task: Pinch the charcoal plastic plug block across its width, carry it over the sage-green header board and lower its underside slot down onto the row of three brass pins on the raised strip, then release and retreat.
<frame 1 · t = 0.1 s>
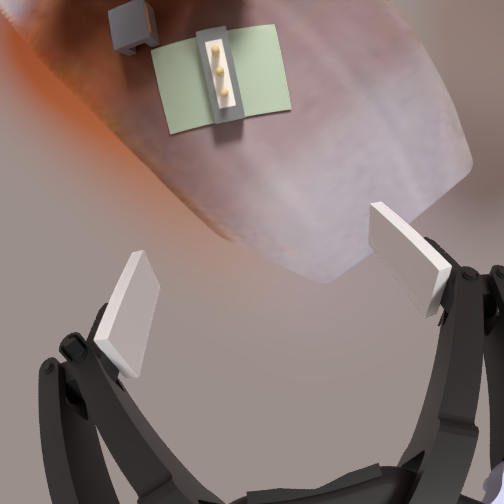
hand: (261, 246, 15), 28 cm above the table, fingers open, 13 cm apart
plug block: (140, 31, 27), on the table
header: (220, 75, 32), on the table
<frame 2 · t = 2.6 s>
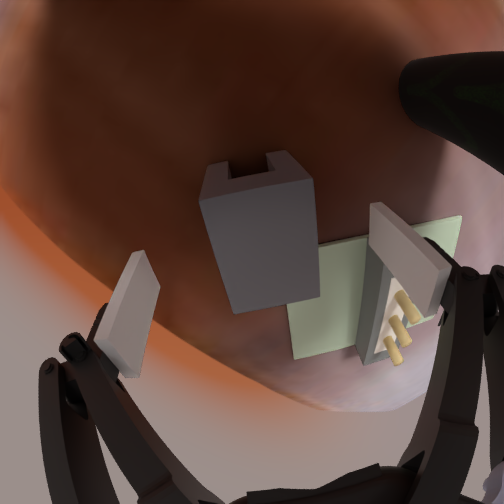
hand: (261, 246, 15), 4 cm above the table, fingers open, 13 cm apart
cup: (425, 93, 14), on the table
plug block: (256, 206, 18), on the table
header: (378, 293, 24), on the table
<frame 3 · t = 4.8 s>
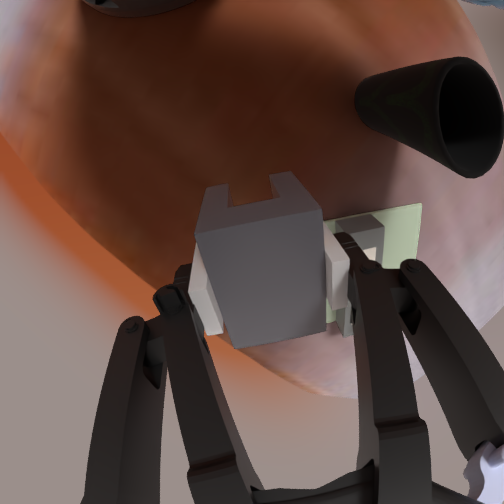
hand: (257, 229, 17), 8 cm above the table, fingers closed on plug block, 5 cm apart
cup: (379, 103, 20), on the table
plug block: (258, 231, 17), point 8 cm above the table, touching gripper
header: (351, 271, 29), on the table
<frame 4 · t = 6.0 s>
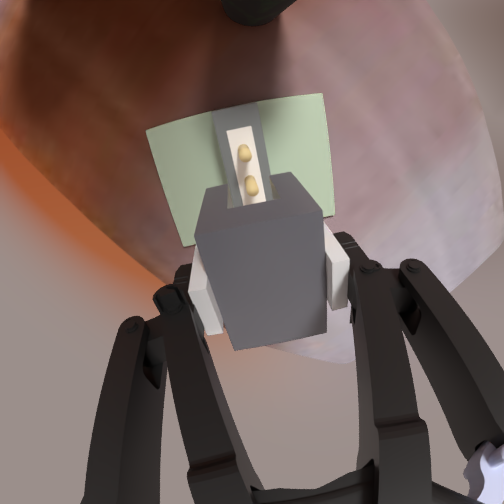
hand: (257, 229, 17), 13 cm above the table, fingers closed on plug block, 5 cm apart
cup: (251, 4, 18), on the table
plug block: (258, 232, 17), point 13 cm above the table, touching gripper
header: (247, 170, 27), on the table
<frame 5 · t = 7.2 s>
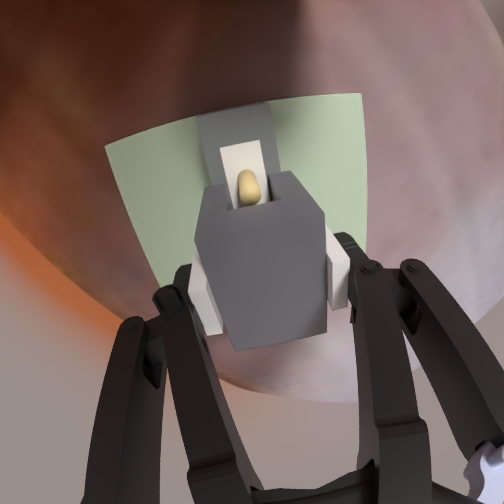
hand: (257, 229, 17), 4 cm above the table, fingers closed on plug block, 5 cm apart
plug block: (257, 231, 17), point 3 cm above the table, touching gripper, header
header: (250, 202, 19), on the table
when the fingers open (3 cm above the table, at t = 7.6 s): plug block stays where it is, resting on header.
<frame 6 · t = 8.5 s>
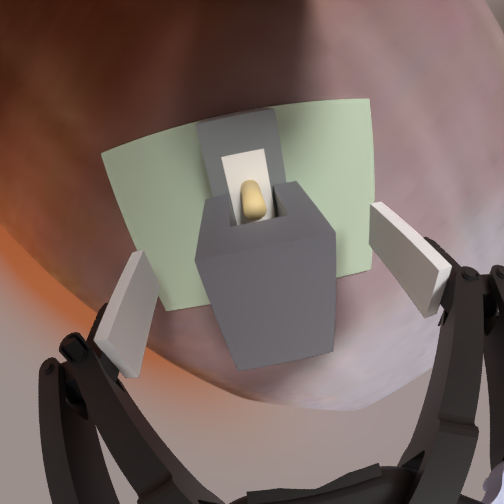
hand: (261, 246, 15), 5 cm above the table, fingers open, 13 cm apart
plug block: (261, 244, 16), point 3 cm above the table, touching header
header: (253, 213, 19), on the table
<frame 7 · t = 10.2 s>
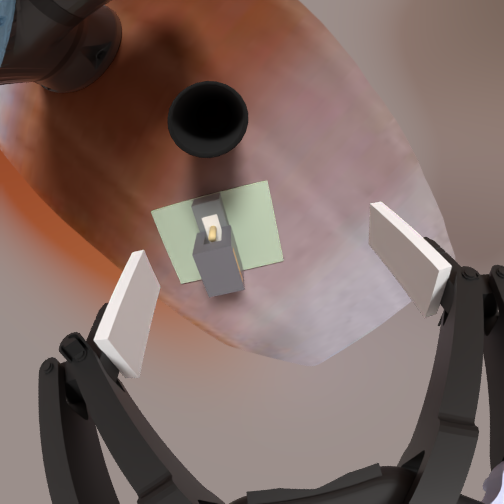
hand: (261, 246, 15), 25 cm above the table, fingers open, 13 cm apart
cup: (214, 115, 33), on the table
plug block: (220, 249, 40), point 3 cm above the table, touching header
header: (219, 235, 43), on the table
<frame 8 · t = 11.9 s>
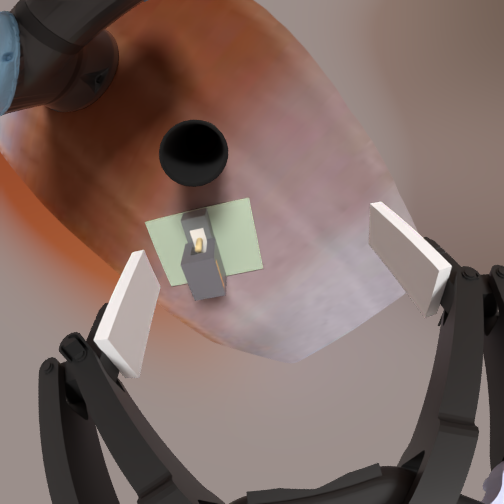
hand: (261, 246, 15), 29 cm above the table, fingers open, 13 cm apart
cup: (202, 138, 38), on the table
plug block: (205, 258, 45), point 3 cm above the table, touching header
header: (205, 245, 47), on the table
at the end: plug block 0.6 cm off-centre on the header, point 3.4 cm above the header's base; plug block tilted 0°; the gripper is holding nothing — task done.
